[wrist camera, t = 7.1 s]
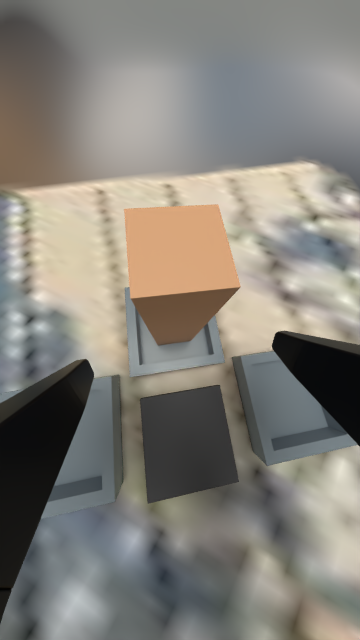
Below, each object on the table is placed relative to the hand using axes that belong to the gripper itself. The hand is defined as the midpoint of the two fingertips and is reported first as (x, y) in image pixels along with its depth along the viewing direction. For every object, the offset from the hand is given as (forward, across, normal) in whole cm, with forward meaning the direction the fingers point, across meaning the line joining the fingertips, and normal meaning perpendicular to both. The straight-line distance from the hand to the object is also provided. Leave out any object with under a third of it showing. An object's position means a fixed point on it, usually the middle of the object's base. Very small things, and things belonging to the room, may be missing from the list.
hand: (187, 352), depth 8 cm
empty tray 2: (+4, +12, -13) cm, 18 cm away
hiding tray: (+11, 0, -6) cm, 13 cm away
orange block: (+11, 0, -5) cm, 12 cm away
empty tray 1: (+4, -12, -12) cm, 18 cm away
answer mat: (+3, 0, -14) cm, 14 cm away
